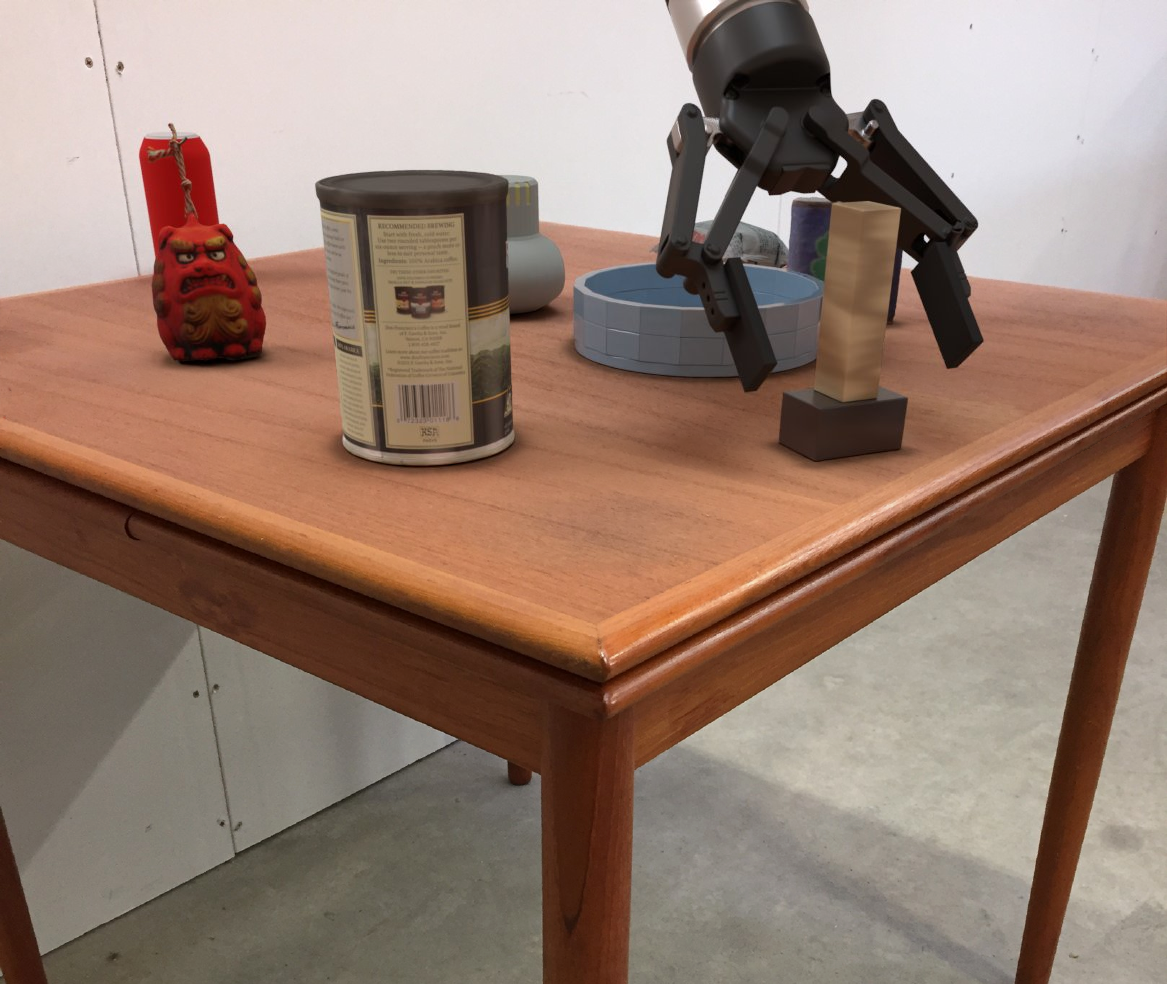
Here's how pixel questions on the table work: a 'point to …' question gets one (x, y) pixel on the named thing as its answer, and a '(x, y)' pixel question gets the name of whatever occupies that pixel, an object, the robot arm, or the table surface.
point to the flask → (822, 243)
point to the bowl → (688, 321)
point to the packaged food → (747, 245)
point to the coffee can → (420, 313)
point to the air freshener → (530, 250)
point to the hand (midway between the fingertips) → (866, 367)
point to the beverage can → (177, 183)
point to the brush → (850, 344)
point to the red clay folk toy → (204, 286)
